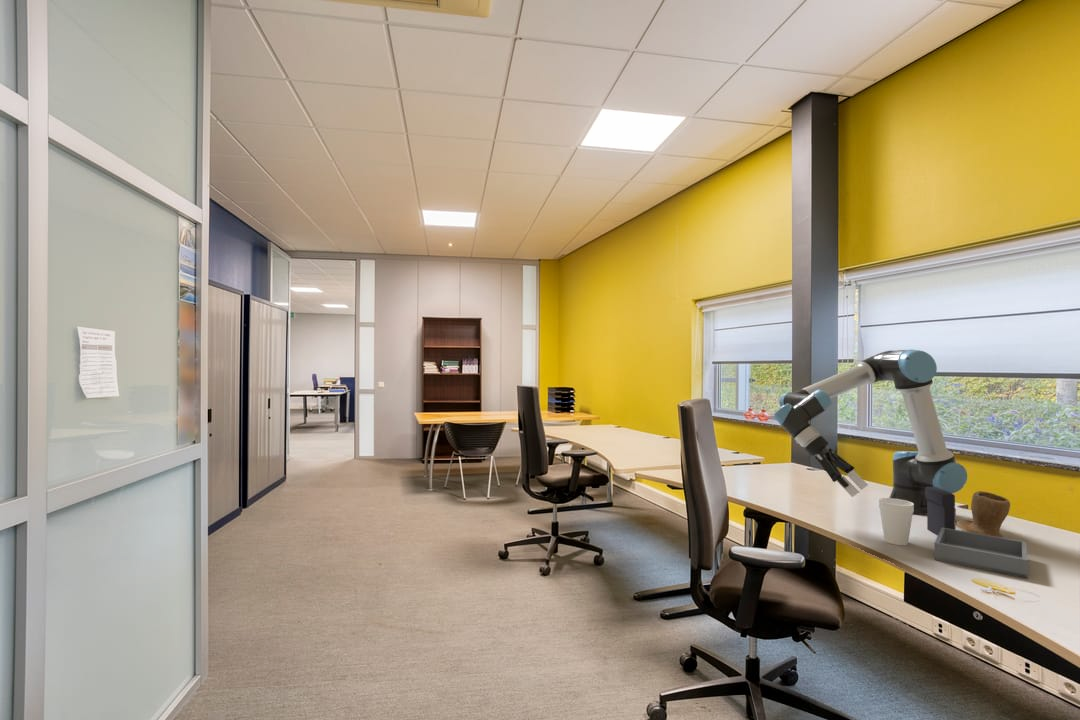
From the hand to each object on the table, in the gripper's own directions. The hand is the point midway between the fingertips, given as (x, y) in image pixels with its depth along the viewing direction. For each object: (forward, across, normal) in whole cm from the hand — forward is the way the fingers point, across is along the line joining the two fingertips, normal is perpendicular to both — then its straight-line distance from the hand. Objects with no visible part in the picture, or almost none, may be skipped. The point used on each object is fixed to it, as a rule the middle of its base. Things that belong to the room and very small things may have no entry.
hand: (860, 491), depth 176 cm
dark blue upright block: (+25, -19, +4) cm, 32 cm away
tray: (+32, +1, +11) cm, 34 cm away
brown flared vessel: (+32, -26, +11) cm, 43 cm away
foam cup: (+18, 0, -4) cm, 18 cm away
